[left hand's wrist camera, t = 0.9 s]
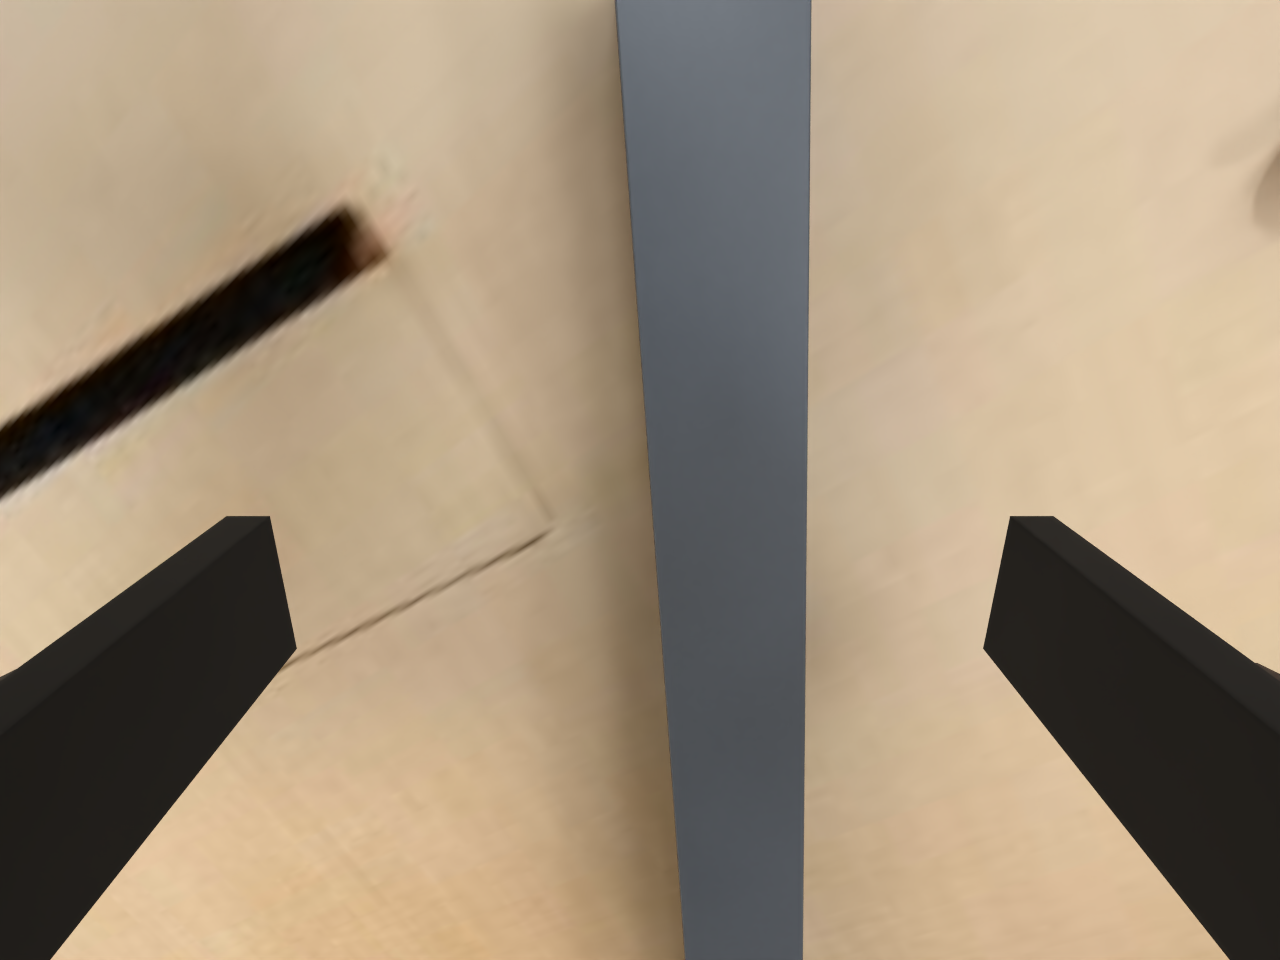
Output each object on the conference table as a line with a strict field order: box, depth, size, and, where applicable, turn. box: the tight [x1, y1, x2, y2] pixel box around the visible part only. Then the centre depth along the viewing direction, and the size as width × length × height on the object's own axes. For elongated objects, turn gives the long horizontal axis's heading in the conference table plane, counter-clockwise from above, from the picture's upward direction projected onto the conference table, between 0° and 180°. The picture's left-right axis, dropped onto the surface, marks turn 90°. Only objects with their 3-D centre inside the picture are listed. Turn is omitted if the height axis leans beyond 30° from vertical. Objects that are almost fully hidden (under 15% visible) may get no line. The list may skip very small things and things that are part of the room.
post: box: [615, 0, 811, 960], centre depth 32 cm, size 66×5×8 cm, turn 4°
